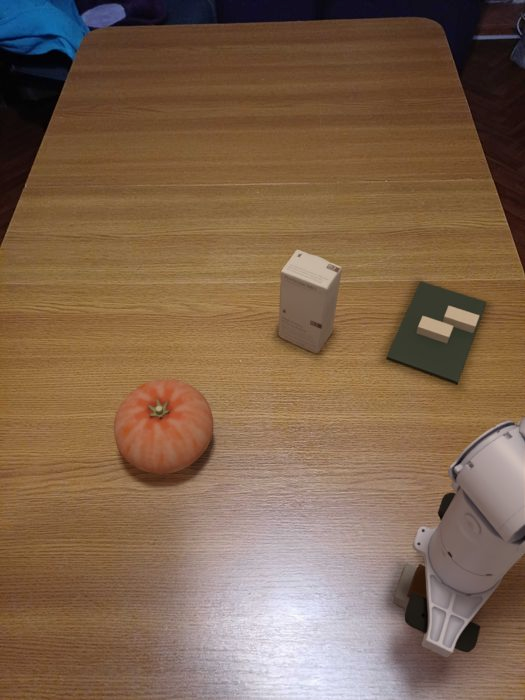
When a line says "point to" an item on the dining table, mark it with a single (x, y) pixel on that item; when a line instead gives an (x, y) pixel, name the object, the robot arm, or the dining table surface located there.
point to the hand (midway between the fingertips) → (440, 589)
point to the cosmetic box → (308, 300)
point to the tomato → (163, 426)
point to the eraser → (410, 584)
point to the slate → (430, 352)
